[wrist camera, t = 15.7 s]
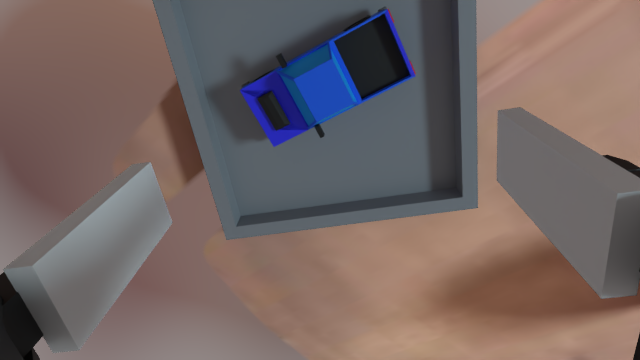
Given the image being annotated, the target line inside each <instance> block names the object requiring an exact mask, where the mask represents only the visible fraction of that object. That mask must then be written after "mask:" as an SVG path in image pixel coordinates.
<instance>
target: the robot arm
mask: <svg viewBox="0 0 640 360" xmlns="http://www.w3.org/2000/svg"><path fill="white" fill-rule="evenodd" d="M497 181H498V182H499V183H500V185H501V186H502V187H503V188H504V189H505V190H506V191H507V192H508V194H509V195H510V196H511V197H512V198H513V199H514V200H515V202H516V203H517V204H518V205H519V206H520V207H521V208H522V209H523V211H524V212H525V213H526V214H527V215H528V216H529V217H530V219H531V220H532V221H533V222H534V223H535V224H536V225H537V226H538V228H539V229H540V230H541V231H542V232H543V233H544V234H545V235H546V237H547V238H548V239H549V240H550V241H551V242H552V243H553V245H554V246H555V247H556V248H557V249H558V250H559V251H560V252H561V254H562V255H563V256H564V257H565V258H566V259H567V260H568V262H569V263H570V264H571V265H572V266H573V267H574V268H575V269H576V271H577V272H578V273H579V274H580V275H581V276H582V277H583V279H584V280H585V281H586V282H587V283H588V284H589V285H590V286H591V288H592V289H593V290H594V291H595V292H596V293H597V294H598V295H599V297H600V298H601V299H604V298H614V297H624V296H634V295H637V290H638V285H639V280H640V168H639V167H638V166H636V165H634V164H632V163H630V162H629V161H626V160H623V159H620V158H616V157H613V156H609V155H603V156H602V155H600V154H598V153H597V152H595V151H593V150H592V149H590V148H588V147H586V146H585V145H583V144H581V143H580V142H578V141H576V140H575V139H573V138H571V137H570V136H568V135H566V134H564V133H563V132H561V131H559V130H558V129H556V128H554V127H553V126H551V125H549V124H548V123H546V122H544V121H542V120H541V119H539V118H537V117H536V116H534V115H532V114H531V113H529V112H527V111H525V110H524V109H522V108H520V107H519V108H512V109H506V110H499V111H498V132H497ZM171 224H172V220H171V217H170V214H169V211H168V209H167V206H166V203H165V200H164V198H163V195H162V192H161V189H160V187H159V184H158V181H157V179H156V176H155V173H154V170H153V168H152V165H151V162H147V163H140V164H133V165H131V166H130V167H129V168H127V169H126V170H125V171H124V172H122V173H121V174H120V175H119V176H118V177H116V178H115V179H114V180H113V181H111V182H110V183H109V184H108V185H106V186H105V187H104V188H103V189H102V190H100V191H99V192H98V193H97V194H95V195H94V196H93V197H92V198H90V199H89V200H88V201H87V202H86V203H84V204H83V205H82V206H81V207H79V208H78V209H77V210H76V211H75V212H73V213H72V214H71V215H70V216H68V217H67V218H66V219H65V220H63V221H62V222H61V223H60V224H58V225H57V226H56V227H55V228H54V229H52V230H51V231H50V232H49V233H47V234H46V235H45V236H44V237H43V238H41V239H40V240H39V241H38V242H36V243H35V244H34V245H33V246H31V247H30V248H29V249H28V250H26V251H25V252H24V253H23V254H22V255H20V256H19V257H18V258H17V259H16V260H14V261H13V262H12V263H10V264H9V265H8V266H7V267H6V268H4V269H3V270H4V272H3V273H2V274H1V275H0V360H40V358H39V356H38V355H37V353H36V352H35V350H34V349H33V347H34V346H35V344H36V343H37V342H38V341H39V340H40V338H41V337H42V336H43V337H44V339H45V340H46V342H47V344H48V345H49V347H50V349H51V350H52V352H53V353H57V352H67V351H77V350H80V349H81V347H82V346H83V345H84V343H85V342H86V341H87V339H88V338H89V336H90V335H91V334H92V332H93V331H94V330H95V328H96V327H97V325H98V324H99V323H100V321H101V320H102V319H103V317H104V316H105V315H106V313H107V312H108V310H109V309H110V308H111V306H112V305H113V303H114V302H115V301H116V299H117V298H118V297H119V295H120V294H121V293H122V291H123V290H124V289H125V287H126V286H127V284H128V283H129V282H130V280H131V279H132V278H133V276H134V275H135V273H136V272H137V271H138V269H139V268H140V266H141V265H142V264H143V263H144V261H145V260H146V258H147V257H148V256H149V254H150V253H151V252H152V250H153V249H154V247H155V246H156V245H157V243H158V242H159V241H160V239H161V238H162V237H163V235H164V234H165V232H166V231H167V229H168V228H169V227H170V225H171ZM633 360H640V334H639V338H638V342H637V346H636V350H635V354H634V358H633Z"/></svg>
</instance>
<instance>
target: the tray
mask: <svg viewBox="0 0 640 360" xmlns="http://www.w3.org/2000/svg"><path fill="white" fill-rule="evenodd" d="M153 3H154V7H155V10H156V13H157V16H158V19H159V23H160V26H161V29H162V33H163V36H164V39H165V42H166V46H167V49H168V52H169V55H170V58H171V62H172V65H173V68H174V71H175V75H176V78H177V81H178V84H179V88H180V91H181V94H182V97H183V101H184V104H185V107H186V110H187V114H188V117H189V120H190V123H191V126H192V130H193V133H194V136H195V139H196V143H197V146H198V149H199V152H200V156H201V159H202V162H203V165H204V169H205V172H206V175H207V178H208V181H209V185H210V188H211V191H212V194H213V198H214V201H215V204H216V207H217V211H218V214H219V217H220V220H221V224H222V227H223V230H224V233H225V237H226V240H229V239H237V238H245V237H253V236H261V235H269V234H277V233H285V232H292V231H300V230H308V229H316V228H324V227H332V226H340V225H347V224H355V223H363V222H371V221H379V220H387V219H395V218H402V217H410V216H418V215H426V214H434V213H442V212H450V211H457V210H465V209H473V208H478V180H477V49H476V0H153ZM385 6H386V8H387V9H389V11H390V13H391V16H392V18H393V20H394V23H393V24H394V26H395V28H396V31H397V33H398V35H399V38H400V40H401V43H402V45H403V47H404V50H405V52H406V54H407V57H408V59H409V61H411V63H412V66H413V68H414V70H415V73H416V74H415V77H413V78H411V79H409V80H407V81H405V82H403V83H401V84H399V85H397V86H395V87H393V88H391V89H389V90H387V91H385V92H383V93H381V94H379V95H377V96H375V97H373V98H371V99H369V100H367V101H365V102H363V103H361V104H359V105H357V106H355V107H353V108H351V109H349V110H347V111H345V112H343V113H341V114H339V115H337V116H335V117H333V118H331V119H329V120H327V121H325V122H323V123H321V124H320V126H321V128H322V130H323V132H324V133H325V134H324V137H322V138H320V137H319V135H318V133H317V131H316V129H315V127H313V128H311V129H309V130H307V131H305V132H303V133H301V134H299V135H297V136H295V137H293V138H291V139H289V140H287V141H285V142H283V143H281V144H279V145H277V146H275V147H273V145H272V143H271V142H270V140H269V138H268V137H267V135H266V133H265V132H264V130H263V128H262V127H261V125H260V123H259V122H258V120H257V118H256V117H255V115H254V113H253V112H252V110H251V108H250V107H249V105H248V103H247V102H246V100H245V98H244V97H243V95H242V93H241V92H240V90H241V89H242V85H243V84H245V83H247V82H248V81H249V82H252V81H254V80H255V79H257V78H258V77H260V76H262V75H263V74H265V73H267V72H269V71H271V70H273V69H276V68H277V67H279V66H281V65H280V63H279V62H278V60H277V58H276V56H277V55H278V54H280V53H281V54H282V56H283V57H284V59H285V61H286V62H288V61H290V60H292V59H294V58H295V57H297V56H299V55H301V54H303V53H304V52H306V51H308V50H310V49H312V48H314V47H315V46H317V45H319V44H321V43H323V42H325V41H326V40H328V39H330V38H332V37H334V36H335V35H337V34H339V33H341V32H344V31H343V30H344V29H346V28H347V27H349V26H350V25H352V24H354V23H355V22H357V21H359V20H361V19H363V18H365V17H367V16H369V15H370V16H372V15H374V14H375V13H377V12H378V10H379V9H381V8H383V7H385Z"/></svg>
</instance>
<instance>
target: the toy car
mask: <svg viewBox="0 0 640 360" xmlns="http://www.w3.org/2000/svg"><path fill="white" fill-rule="evenodd" d="M393 23H394V20H393V18H392V16H391V13H390V11H389V9H387V8H386V6H385V7H383V8H381V9H379V10H378V12H377V13H375V14H374V15H372V16H370V15H369V16H367V17H365V18H363V19H361V20H359V21H357V22H355V23H354V24H352V25H350V26H349V27H347V28H346V29H344V30H343V31H344V32H341V33H339V34H337V35H335V36H334V37H332V38H330V39H328V40H326V41H325V42H323V43H321V44H319V45H317V46H315V47H314V48H312V49H310V50H308V51H306V52H304V53H303V54H301V55H299V56H297V57H295V58H294V59H292V60H290V61H288V62H286V61H285V59H284V57H283V56H282V54H281V53H280V54H278V55H277V56H276V58H277V60H278V62H279V63H280V65H281V66H279V67H277V68H276V69H273V70H271V71H269V72H267V73H265V74H263V75H262V76H260V77H258V78H257V79H255V80H254V81H252V82H249V81H248V82H247V83H245V84H243V85H242V89H241V90H240V92H241V93H242V95H243V97H244V98H245V100H246V102H247V103H248V105H249V107H250V108H251V110H252V112H253V113H254V115H255V117H256V118H257V120H258V122H259V123H260V125H261V127H262V128H263V130H264V132H265V133H266V135H267V137H268V138H269V140H270V142H271V143H272V145H273V147H275V146H277V145H279V144H281V143H283V142H285V141H287V140H289V139H291V138H293V137H295V136H297V135H299V134H301V133H303V132H305V131H307V130H309V129H311V128H313V127H315V129H316V131H317V133H318V135H319V137H320V138H322V137H324V134H325V133H324V132H323V130H322V128H321V126H320V124H321V123H323V122H325V121H327V120H329V119H331V118H333V117H335V116H337V115H339V114H341V113H343V112H345V111H347V110H349V109H351V108H353V107H355V106H357V105H359V104H361V103H363V102H365V101H367V100H369V99H371V98H373V97H375V96H377V95H379V94H381V93H383V92H385V91H387V90H389V89H391V88H393V87H395V86H397V85H399V84H401V83H403V82H405V81H407V80H409V79H411V78H413V77H415V74H416V73H415V70H414V68H413V66H412V63H411V61H409V59H408V57H407V54H406V52H405V50H404V47H403V45H402V43H401V40H400V38H399V35H398V33H397V31H396V28H395V26H394V24H393Z"/></svg>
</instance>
